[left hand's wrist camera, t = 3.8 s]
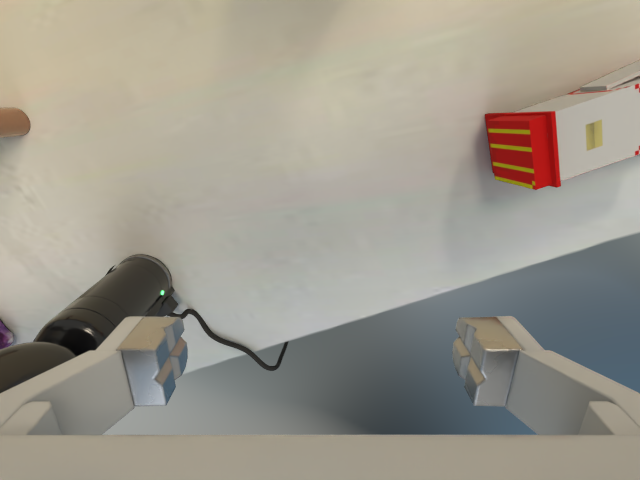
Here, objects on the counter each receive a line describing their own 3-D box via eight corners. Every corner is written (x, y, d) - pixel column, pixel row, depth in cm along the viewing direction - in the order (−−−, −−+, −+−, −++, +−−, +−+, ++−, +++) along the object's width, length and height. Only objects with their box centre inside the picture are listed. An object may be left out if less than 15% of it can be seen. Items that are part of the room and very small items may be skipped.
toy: (762, 126, 45) (541, 203, 44) (654, 125, 58) (481, 185, 57) (775, 21, 41) (532, 103, 40) (656, 44, 54) (469, 107, 53)
